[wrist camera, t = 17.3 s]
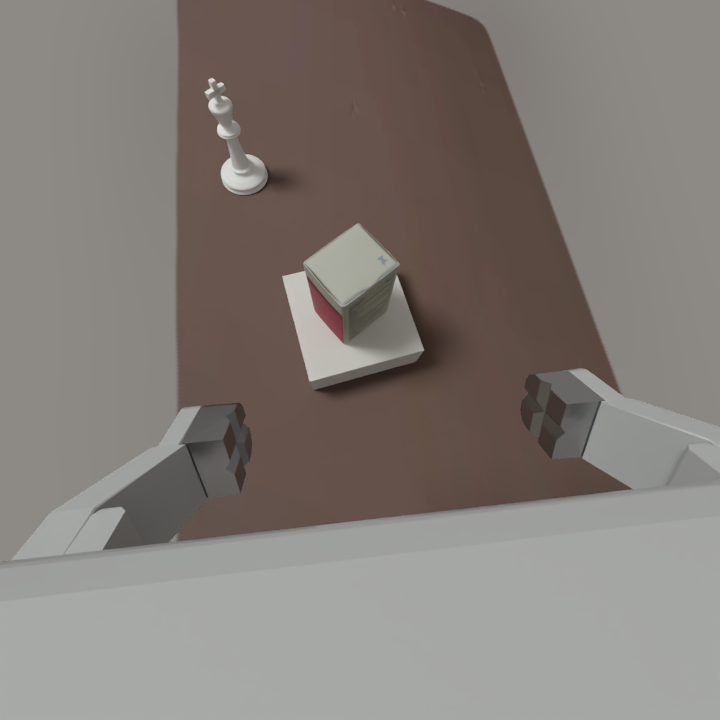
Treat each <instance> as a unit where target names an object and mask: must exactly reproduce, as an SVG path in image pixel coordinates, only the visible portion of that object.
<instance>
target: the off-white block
mask: <svg viewBox="0 0 720 720" xmlns="http://www.w3.org/2000/svg"><path fill="white" fill-rule="evenodd" d="M388 252H389V251H388ZM282 277H283V281H284V285H285V289H286V292H287V296H288V300H289V304H290V308H291V312H292V316H293V319H294V323H295V327H296V331H297V335H298V339H299V342H300V346H301V350H302V354H303V358H304V362H305V365H306V369H307V373H308V377H309V381H310V383H311V386H312V388H313V390H316V389H319V388H323V387H326V386H330V385H334V384H337V383H341V382H345V381H348V380H352V379H355V378H359V377H363V376H366V375H370V374H373V373H377V372H381V371H384V370H388V369H392V368H395V367H399V366H402V365H406V364H410V363H413V362H416V361H417V360H418V358H419V357H420V355H421V354H422V353H423V351H424V348H423V346H422V343H421V340H420V337H419V334H418V332H417V329H416V326H415V323H414V321H413V318H412V315H411V312H410V309H409V307H408V304H407V301H406V298H405V296H404V293H403V290H402V287H401V284H400V282H399V279H398V276H397V275H396V279H395V283H394V286H393V290H392V294H391V298H390V301H389V305H388V309H387V311H386V312H385V313H384V314H383V315H381V316H380V317H379V318H378V319H377V320H375V321H374V322H373V323H372V324H370V325H369V326H368V327H367V328H366V329H364V330H363V331H362V332H361V333H359V334H358V335H357V336H356V337H354V338H353V339H352V340H350V341H349V342H348V343H346V344H343V343H342V342H341V341H340V339H339V338H338V337H337V336H336V335H335V334H334V333H333V332H332V331H331V330H330V328H329V327H328V326H327V325H326V324H325V323H324V322H323V320H322V319H321V318H320V317H319V316H318V314H317V313H316V312H315V310H314V306H313V302H312V297H311V293H310V289H309V284H308V280H307V276H306V272H305V271H303V272H299V273H295V274H290V275H286V276H282Z"/></svg>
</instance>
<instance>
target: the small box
mask: <svg viewBox="0 0 720 720" xmlns="http://www.w3.org/2000/svg"><path fill="white" fill-rule="evenodd" d="M304 268H305V272H306V276H307V280H308V284H309V289H310V293H311V297H312V302H313V306H314V310H315V312H316V313H317V314H318V316H319V317H320V318H321V319H322V320H323V322H324V323H325V324H326V325H327V326H328V327H329V328H330V330H331V331H332V332H333V333H334V334H335V335H336V336H337V337H338V338H339V339H340V341H341V342H342V343H343V344H346V343H348V342H349V341H350V340H352V339H353V338H354V337H356V336H357V335H358V334H359V333H361V332H362V331H363V330H364V329H366V328H367V327H368V326H369V325H370V324H372V323H373V322H374V321H375V320H377V319H378V318H379V317H380V316H381V315H383V314H384V313H385V312H386V311H387V309H388V305H389V301H390V298H391V294H392V290H393V286H394V283H395V279H396V275H397V272H398V268H399V262H398V261H397V260H395V258H394V257H393V256H392V255H391V254H390V253H389V252H388V251H387V250H386V249H385V248H384V247H383V246H382V245H381V244H380V243H379V242H378V241H377V240H376V239H375V238H374V237H373V236H372V235H371V234H370V233H368V232H367V231H366V230H365V229H364V228H363V227H362V226H361V225H360V224H356V225H355V226H353V227H352V228H350V229H349V230H347V231H346V232H344V233H343V234H341V235H340V236H339V237H337V238H336V239H334V240H333V241H331V242H330V243H329V244H327V245H326V246H325V247H323V248H322V249H321V250H319V251H318V252H317V253H315V254H314V255H312V256H311V257H310V258H309V259H307V260H306V261H305V262H304Z"/></svg>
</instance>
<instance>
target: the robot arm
mask: <svg viewBox="0 0 720 720" xmlns="http://www.w3.org/2000/svg"><path fill="white" fill-rule="evenodd" d="M525 389H526V390H527V392H528V394H527V395H526V396H525V397H524V399H523V400H522V403H521V416H522V420H523V423H524V425H525V426H526V428H527V429H528V430H529V432H531V433H533V434H535V435H537V436H539V439H538V443H539V444H540V446H541V447H542V448H543V449H544V451H545V452H546V453H547V454H548V456H549V457H550V458H551V459H563V458H575V457H583V459H584V460H586V461H588V462H589V463H591V464H593V465H594V466H596V467H597V468H599V469H601V470H602V471H604V472H606V473H607V474H609V475H611V476H612V477H614V478H616V479H617V480H619V481H620V482H622V483H624V484H625V485H627V486H629V487H630V488H632V490H623V491H615V492H606V493H597V494H588V495H580V496H571V497H562V498H553V499H545V500H536V501H527V502H519V503H510V504H501V505H492V506H483V507H474V508H466V509H457V510H448V511H439V512H430V513H422V514H413V515H404V516H395V517H386V518H378V519H369V520H361V521H352V522H343V523H335V524H326V525H318V526H309V527H301V528H292V529H283V530H275V531H266V532H258V533H249V534H240V535H231V536H222V537H213V538H204V539H195V540H186V541H177V542H169V541H170V540H171V539H172V538H173V537H174V536H175V535H176V533H177V532H178V531H179V530H180V529H181V528H182V527H183V526H184V525H185V524H186V523H187V521H188V520H189V519H190V518H191V517H192V516H193V515H194V514H195V513H196V512H197V511H198V510H199V508H200V507H201V506H202V505H203V504H204V503H205V502H206V501H207V498H211V497H218V496H225V495H233V494H240V493H241V490H242V486H243V483H244V479H245V476H246V472H245V468H244V466H245V465H246V464H247V463H248V462H249V461H250V457H251V451H252V440H251V433H250V430H249V427H247V426H246V425H245V424H244V423H243V422H244V418H245V412H244V409H243V405H241V404H240V403H230V404H217V405H204V406H193V407H185V408H183V409H181V410H180V412H179V414H178V415H177V417H176V418H175V420H174V422H173V423H172V425H171V426H170V428H169V429H168V431H167V433H166V434H165V436H164V437H163V439H162V440H161V442H160V444H159V445H158V447H153V448H150V449H148V450H147V451H145V452H144V453H142V454H141V455H139V456H138V457H136V458H134V459H133V460H131V461H130V462H128V463H127V464H125V465H124V466H122V467H121V468H119V469H117V470H116V471H115V472H113V473H112V474H110V475H108V476H107V477H105V478H104V479H102V480H100V481H99V482H97V483H96V484H94V485H93V486H91V487H90V488H88V489H86V490H85V491H83V492H82V493H80V494H79V495H77V496H76V497H74V498H72V499H71V500H69V501H68V502H66V503H65V504H63V505H62V506H60V507H59V508H57V509H56V510H54V511H52V512H51V513H50V514H49V515H48V516H47V517H46V519H45V520H44V521H43V522H42V523H41V525H40V526H39V527H38V528H37V529H36V531H35V532H34V533H33V534H32V536H31V537H30V538H29V539H28V541H27V542H26V543H25V544H24V545H23V546H22V548H21V549H20V550H19V551H18V553H17V554H16V555H15V556H14V557H13V559H12V560H11V561H3V562H0V720H720V427H718V426H715V425H712V424H709V423H705V422H703V421H699V420H696V419H693V418H690V417H687V416H684V415H681V414H678V413H675V412H672V411H669V410H666V409H663V408H660V407H656V406H653V405H651V404H648V403H644V402H641V401H638V400H635V399H631V398H630V399H626V398H624V397H623V396H622V395H620V394H619V393H618V392H616V391H615V390H614V389H612V388H611V387H610V386H608V385H607V384H605V383H604V382H603V381H601V380H600V379H599V378H597V377H596V376H595V375H593V374H592V373H591V372H589V371H588V370H586V369H582V368H579V369H572V370H564V371H558V372H549V373H541V374H532V375H529V376H528V378H527V379H526V383H525ZM168 542H169V543H168Z"/></svg>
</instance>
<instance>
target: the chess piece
mask: <svg viewBox="0 0 720 720" xmlns="http://www.w3.org/2000/svg"><path fill="white" fill-rule="evenodd" d="M208 82H209V85H210V89H209V90H207V91H205V94H206V97H207V98H208V99H209V100H210V101H209V105H208V106H209V109H210V111H211V113H212V114H213V115H214V116H215V117H216V119H217V120H218V122H219V125H218V127H217V132H218V135H219V136H220V137H221V138H223V139H227V143H228V147H229V152H230V156H231V158H229V159H228V160H227V161H226V162H225V163H224V164H223V166H222V169H221V177H222V182H223V184H224V186H225V187H226V188H227V189H228V190H229V191H231V192H232V193H235V194H238V195H250V194H253V193H256V192H258V191H259V190H261V189H262V188H263V187H264V185H265V184H266V182H267V179H268V173H267V170H266V168H265V165H264V164H263V162H262V161H261V160H260V159H259V158H257V157H255V156H253V155H248V154H245V153H244V151H243V149H242V147H241V145H240V143H239V141H238V138H237V136H238V135H239V134H240V131H241V129H240V126H239V125H238V123H237V122H235V121H233V120H232V102H231V101H230V99H228V98H227V97H224V96H221V95H220V93H222V92H224V91H225V90H226V89H225V86H224V84H223V83H221V82H220V83H218V84H216V81H215V80H214V79H213V78H211V79H209V80H208Z"/></svg>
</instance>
